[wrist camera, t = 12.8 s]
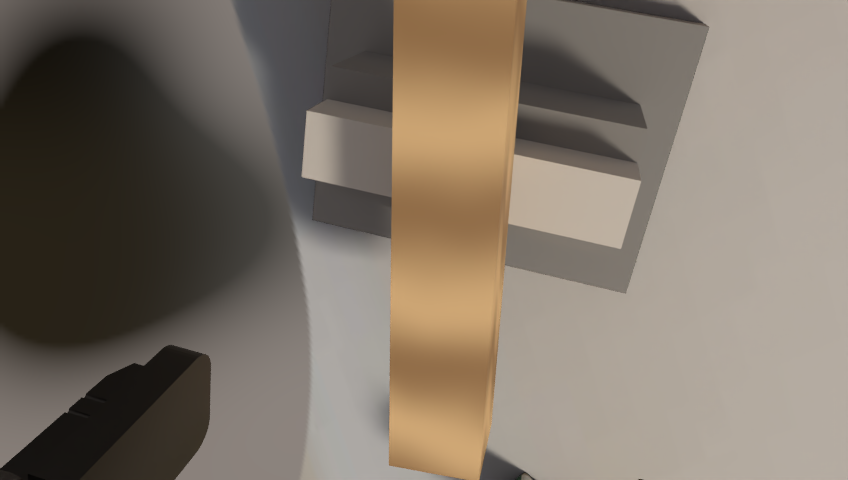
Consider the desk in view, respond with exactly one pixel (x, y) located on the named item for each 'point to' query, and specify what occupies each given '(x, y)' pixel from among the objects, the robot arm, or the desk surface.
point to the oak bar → (449, 224)
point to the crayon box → (524, 477)
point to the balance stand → (524, 131)
